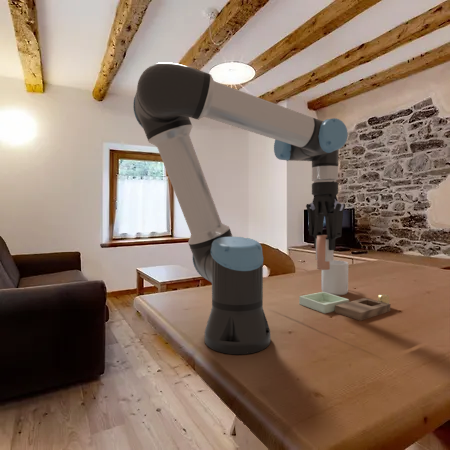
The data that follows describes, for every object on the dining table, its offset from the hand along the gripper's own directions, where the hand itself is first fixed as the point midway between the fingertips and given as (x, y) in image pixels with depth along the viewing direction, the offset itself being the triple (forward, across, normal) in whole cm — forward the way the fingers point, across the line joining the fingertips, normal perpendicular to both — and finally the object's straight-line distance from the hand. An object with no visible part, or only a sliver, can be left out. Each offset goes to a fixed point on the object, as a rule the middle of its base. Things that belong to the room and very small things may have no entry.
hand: (324, 259), depth 97 cm
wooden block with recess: (+15, -10, -5) cm, 19 cm away
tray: (+15, 0, 0) cm, 15 cm away
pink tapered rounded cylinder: (+3, 0, 0) cm, 3 cm away
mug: (+15, +10, -17) cm, 24 cm away
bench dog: (+15, -10, -14) cm, 23 cm away
